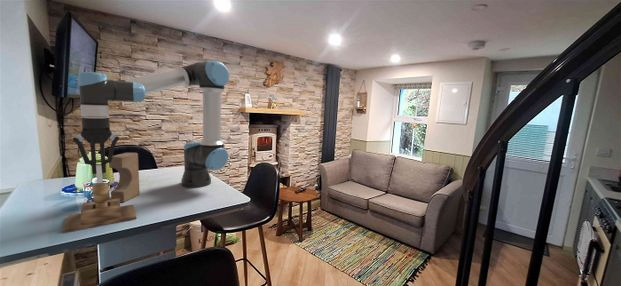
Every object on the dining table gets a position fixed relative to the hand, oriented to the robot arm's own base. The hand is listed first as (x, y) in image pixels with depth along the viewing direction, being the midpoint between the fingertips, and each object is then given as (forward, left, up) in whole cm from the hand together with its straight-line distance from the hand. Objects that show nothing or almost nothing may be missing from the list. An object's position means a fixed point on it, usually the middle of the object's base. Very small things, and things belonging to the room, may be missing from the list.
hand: (100, 182), depth 94 cm
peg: (0, 0, -13) cm, 13 cm away
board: (0, 0, -14) cm, 14 cm away
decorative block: (-8, -20, -14) cm, 26 cm away
